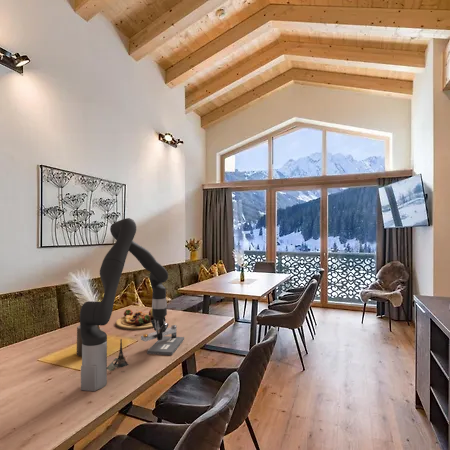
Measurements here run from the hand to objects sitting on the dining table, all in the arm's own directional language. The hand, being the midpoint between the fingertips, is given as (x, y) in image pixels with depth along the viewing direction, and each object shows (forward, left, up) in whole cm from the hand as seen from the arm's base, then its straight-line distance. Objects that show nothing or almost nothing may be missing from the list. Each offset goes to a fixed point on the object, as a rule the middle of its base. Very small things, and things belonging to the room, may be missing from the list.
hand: (159, 339), depth 163 cm
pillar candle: (-11, +34, -5) cm, 36 cm away
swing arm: (+5, +2, -3) cm, 6 cm away
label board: (+3, -3, -5) cm, 6 cm away
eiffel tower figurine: (-21, +11, -5) cm, 25 cm away
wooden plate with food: (+42, +29, -5) cm, 51 cm away
